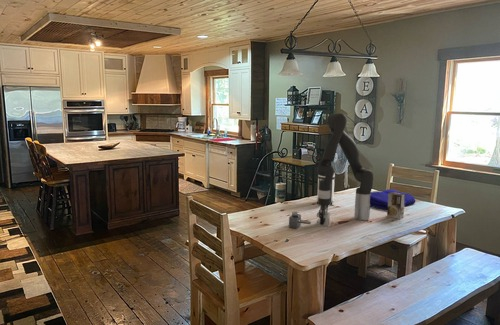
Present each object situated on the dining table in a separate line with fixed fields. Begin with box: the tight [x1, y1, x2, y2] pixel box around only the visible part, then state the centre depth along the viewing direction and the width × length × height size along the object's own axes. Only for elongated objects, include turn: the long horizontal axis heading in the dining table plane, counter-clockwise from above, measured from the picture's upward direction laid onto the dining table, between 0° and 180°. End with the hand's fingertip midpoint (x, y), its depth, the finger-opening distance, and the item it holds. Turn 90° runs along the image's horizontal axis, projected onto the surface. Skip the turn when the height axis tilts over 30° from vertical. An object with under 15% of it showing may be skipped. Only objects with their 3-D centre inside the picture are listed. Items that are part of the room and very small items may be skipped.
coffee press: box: [316, 163, 336, 206], centre depth 281 cm, size 17×16×30 cm
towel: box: [370, 189, 416, 211], centre depth 285 cm, size 26×36×9 cm
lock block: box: [315, 211, 331, 227], centre depth 235 cm, size 7×5×8 cm
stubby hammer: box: [288, 211, 312, 230], centre depth 228 cm, size 12×8×9 cm, turn 65°
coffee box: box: [386, 192, 405, 220], centre depth 252 cm, size 9×6×16 cm
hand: (323, 223), depth 235 cm, fingers closed on lock block, 5 cm apart
